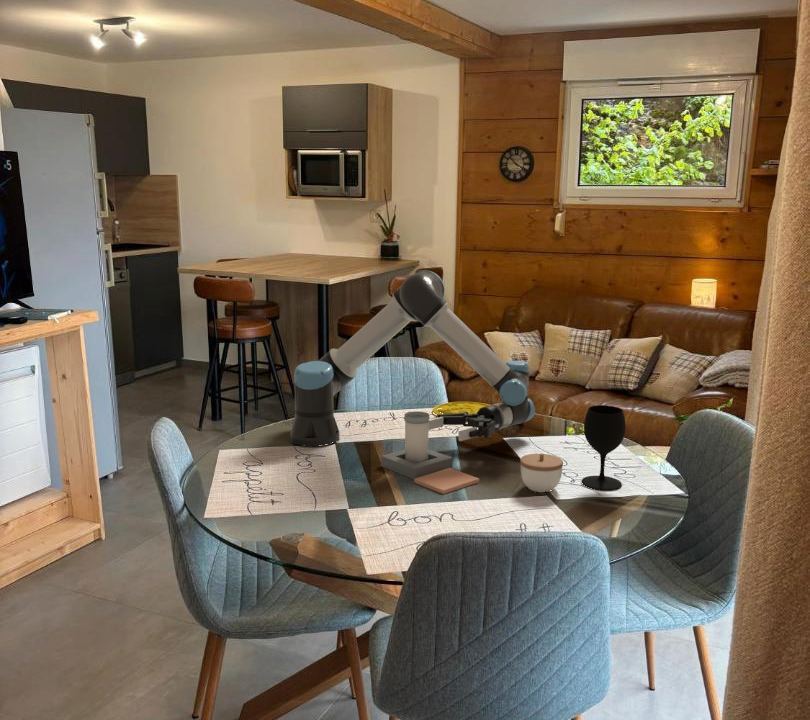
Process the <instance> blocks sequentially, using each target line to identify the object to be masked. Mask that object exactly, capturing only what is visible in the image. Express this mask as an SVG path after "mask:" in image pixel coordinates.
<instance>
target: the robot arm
mask: <svg viewBox="0 0 810 720" xmlns="http://www.w3.org/2000/svg"><path fill="white" fill-rule="evenodd" d="M444 297H445V284H444V282H443V279H442V277H440V276H439V275H438V274H437V273H436V272H433V271H431V270H427V269H426V270H425V269H424V270H419V271H416V272H415V273H413V274H411V275H410V276H408V277H406V278H405V279H404V281H403V282H402V283H401V285H400V286H399V287H398V288H397V289H396V290H394V291H393V292H392V299H391V301H390V302H389V303H388V304H387V305H386V306H384V307H383V308H382V309H381V310H380V311H379V312H378V313H377V314H376V315H375V316H373V317H372V318H371V319H370V320H369V321H367V323H366V324H365V325H364V326H362V327H361V328H360V329H359V330H358V331H357V332H355V334H353V335H352V336H351V337H350V338H349V339H348V340H347V341H345V342H344V343H343V344H342V345H341V346H340V347H338V348H330V350H329V351H327V352H326V353H325V354H324V355H323V356H322V357H320V359H318V360H313V361H312V360H311V361H307V362H302V363H300V364H298V365H297V366H296V368H295V369H294V374H293V375H294V376H293V384H294V386H293V387H294V389H293V390H294V413H295V414H294V418H293V419H294V420H293V423H292V425H291V428H290V429H291V430H290V432H289V442H290V443H292V442H293V443H295V444H298V445H297V446H299V445H305V446H304V447H306V446H319V445H325V444H330V443H332V442H336V441H337V440H338V439H339V438H341V437H340V436H341V435H340V429H339V426H338V424H337V421H336V419H335V414H334V396H335V395H337V393H338V392H341V391H342V390H343V389H344V388H345V387H346V385H348V384H349V383H350V382H351V381H352V380H353V379H355V378H356V376H357V369H359V368H360V367H361V366H362V365H363V364H364V363H365V362H367V360H369V359H370V358H371V357H372V356H373V355H374V354H375V353H377V352H378V351H379V350H380V349H381V348H382V347H384V346H385V345H386V344H387V343H388V342H389V341H390V340H391V339H392V338H393V337H394V336H396V335H398V333H399V332H400V331H401V330H403V328H405V327H406V326H407V325H409V323H410V322H420V323H421V325H423V326H424V327H426V328H428V327H429V328H431V329H432V330H433V332H435V334H437V335H438V336H439V337H440V338H441V339H442V340H443V341H444V342H445V343H446V344H447V345H448V346H449V347H450V348H451V349H452V350H453V351H455V352H456V354H458V355H459V356H460V357H461V358H462V359H463V361H465V362H466V363H467V364H468V365H470V367H471V368H472V369H473V370H474V371H475V372H476V373H477V374H479V376H480V377H481V378H482V379H484V380H485V381H486V382H487V383H488V384H489V386H490V387H492V388H493V389H494V390H495V391H496V392H497V393H498V394H499V397H500V399H501V401H502V402H497V403H493V404H489V405H490V406H486V407H482V408H480V409H479V410H478V412H477V413H474V414H468V412H463V413H451V414H438V415H437V417H435V418H432V419H429V431H431V430H434V429H437V428H438V429H439V428H443V427H444V426H463V427H469V428H465V429H462V430H458V441H459V442H462V441H463V442H464V441H467V440H470V439H474V438H477V437H478V438H481V437H484V438H485V439H488V438H489V437H490V436H491V435H493V434H494V433H495V432H496V431H498V430H499V431H500V430H502V429H503V428H509V427H512V426H515V425H518V424H521V425H522V424H524V423H526V422H528V421H530V420H531V419H533V418H534V415H535V413H536V406H535V404H534V402H533V401H532V400H531V398H529V379H530V365H529V363H528V362H527V361H523V360H509V361H508V360H507V362H504V361H503V360H502V359H501V358H500V357H499V356H498V354H496V353H495V352H494V350H492V349H491V348H490V347H489V346H488V345H487V344H486V343H485V342H484V341H483V340H482V339H480V337H479V336H478V335H477V334H475V332H474V331H473V330H471V329H470V328H469V327H468V326H467V325H466V324H465V322H463V320H461V319H460V318H459V317H458V316H457V315H456V314H455V313H454V312H453V311H452V310H451V309H450V308H449V302H448V301H447V300H446V299H444ZM466 421H468V422H466ZM339 440H340V439H339ZM293 443H292V444H293ZM336 443H337V442H336ZM295 444H294V445H295ZM319 447H320V446H319Z"/></svg>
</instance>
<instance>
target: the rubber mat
mask: <svg viewBox="0 0 810 720" xmlns="http://www.w3.org/2000/svg"><path fill="white" fill-rule="evenodd" d="M413 482H414V483H415V484H418V485H420V486H422V487H424V488H427V489H429V490H432V491H435V492H437V493H439V494H442V495H445V494H448V493H451V492H454V491H456V490H460V489H463V488H466V487H469V486H472V485H475V484H479V483H480V478H478V477H476V476H473V475H471V474H468V473H465V472H462V471H460V470H456V469H454V468H448V469H445V470H441V471H438V472H435V473H432V474H428V475H425V476H422V477H418V478H415V479H413Z"/></svg>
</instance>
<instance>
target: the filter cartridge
mask: <svg viewBox="0 0 810 720" xmlns="http://www.w3.org/2000/svg"><path fill="white" fill-rule="evenodd" d="M429 420H430V413H428V412H425V411H408V412H405V413H404V422H405V423H404V428H405V429H404V439H405V440H404V441H405V442H404V445H405V446H404V449H405V460H407V461H409V462H412V463H415V464H417V463H420V462H424V461H427V460H428V449H429V435H430V434H429V431H430V430H429Z"/></svg>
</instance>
